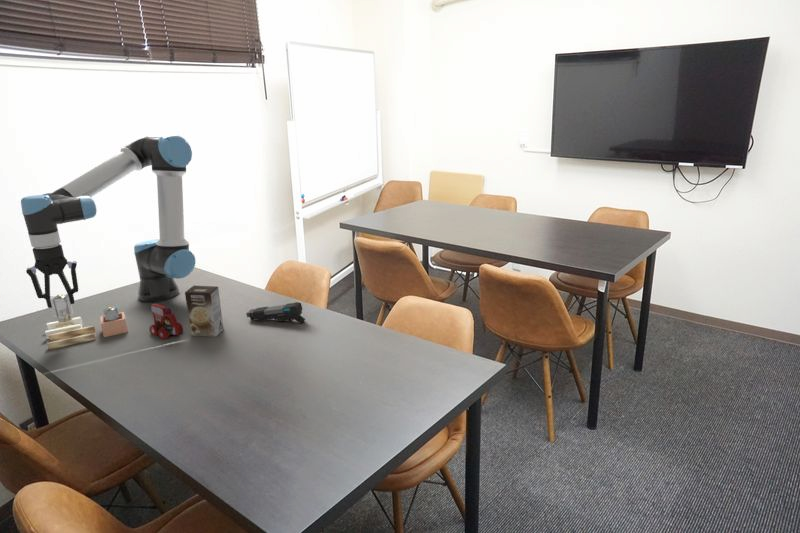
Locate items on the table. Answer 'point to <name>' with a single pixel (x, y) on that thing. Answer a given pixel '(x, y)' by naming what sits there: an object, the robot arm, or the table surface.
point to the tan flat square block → (64, 325)
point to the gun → (278, 313)
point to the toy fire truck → (164, 322)
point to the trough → (71, 337)
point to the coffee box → (204, 310)
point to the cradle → (52, 327)
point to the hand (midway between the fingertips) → (64, 314)
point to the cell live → (62, 308)
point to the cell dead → (111, 314)
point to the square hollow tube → (114, 325)
